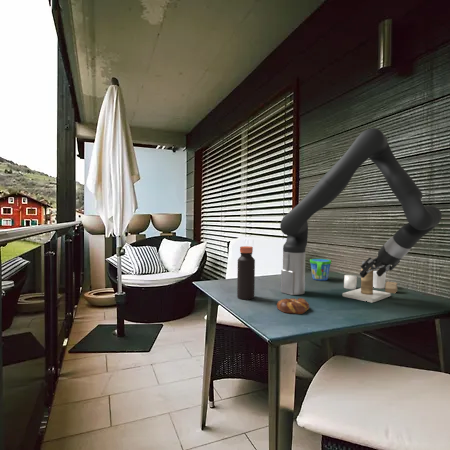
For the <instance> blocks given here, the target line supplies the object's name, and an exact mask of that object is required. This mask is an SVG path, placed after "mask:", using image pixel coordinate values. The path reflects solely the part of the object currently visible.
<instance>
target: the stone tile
mask: <svg viewBox="0 0 450 450" xmlns="http://www.w3.org/2000/svg"><path fill="white" fill-rule="evenodd" d="M391 294H392V293H388V292H385V291H380V290H374V289H373V294H372V295H367V294H362V293H361V287H360V288H356V289H351V290H349V291H346V292H342V294H341V295H342V296H341V297H344V298H349V299H354V300H358V301H364V302H366V301H367V302H368V303H371V304H372V303H375V302H378V301H380V300H381V301H382V300H384V299H387V298H388V297H389V298H390V297H391Z"/></svg>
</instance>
